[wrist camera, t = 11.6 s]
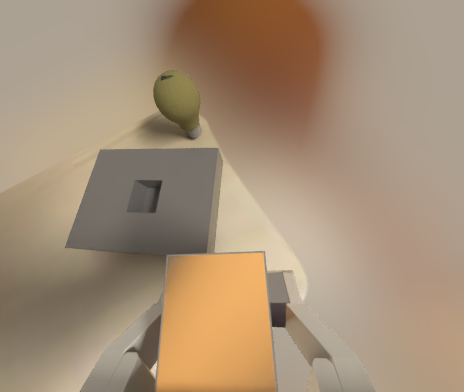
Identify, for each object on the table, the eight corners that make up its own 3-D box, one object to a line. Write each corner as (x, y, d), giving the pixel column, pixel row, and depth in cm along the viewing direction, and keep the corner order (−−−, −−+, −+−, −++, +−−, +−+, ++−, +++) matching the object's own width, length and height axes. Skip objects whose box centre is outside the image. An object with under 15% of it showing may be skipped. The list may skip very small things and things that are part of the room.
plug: (222, 303, 14) (153, 401, 5) (221, 255, 15) (166, 255, 6) (263, 302, 13) (279, 409, 4) (259, 253, 15) (264, 251, 5)
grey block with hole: (90, 248, 24) (65, 247, 21) (117, 161, 28) (100, 149, 25) (213, 258, 22) (205, 259, 18) (222, 161, 26) (218, 147, 23)
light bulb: (185, 154, 27) (149, 102, 18) (175, 129, 29) (138, 71, 20) (217, 140, 27) (197, 81, 18) (205, 116, 29) (181, 51, 20)
